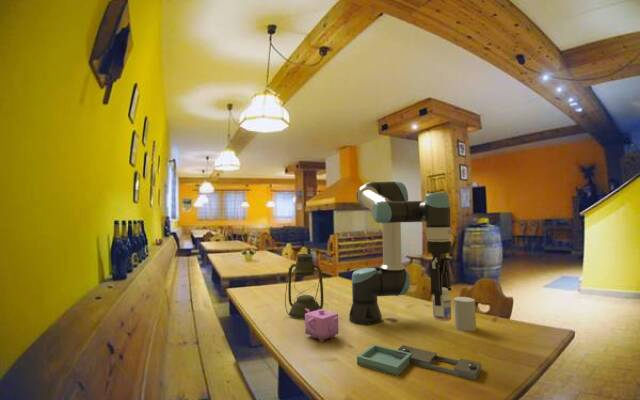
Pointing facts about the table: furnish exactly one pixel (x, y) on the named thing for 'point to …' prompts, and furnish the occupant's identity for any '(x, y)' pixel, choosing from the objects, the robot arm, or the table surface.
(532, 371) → the table surface
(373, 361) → the tray
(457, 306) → the cup
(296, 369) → the table surface
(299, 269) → the lantern
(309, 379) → the table surface
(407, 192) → the robot arm
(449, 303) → the pill bottle
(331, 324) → the teapot
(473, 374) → the mounting rail
